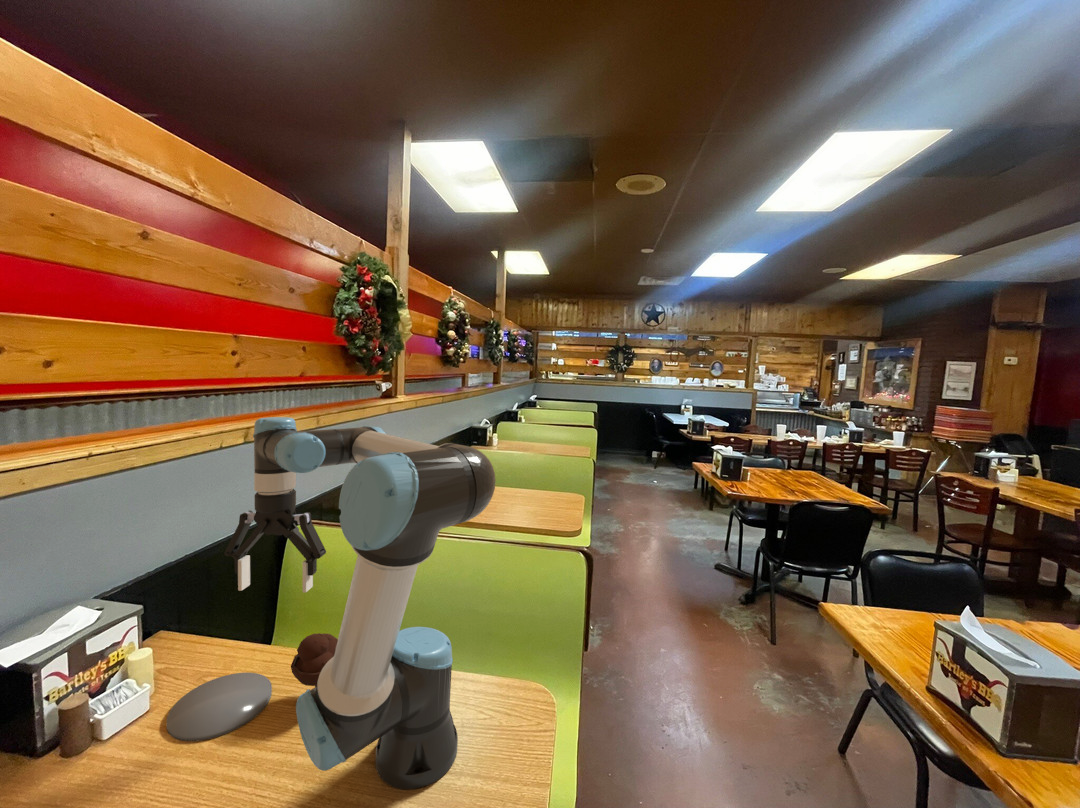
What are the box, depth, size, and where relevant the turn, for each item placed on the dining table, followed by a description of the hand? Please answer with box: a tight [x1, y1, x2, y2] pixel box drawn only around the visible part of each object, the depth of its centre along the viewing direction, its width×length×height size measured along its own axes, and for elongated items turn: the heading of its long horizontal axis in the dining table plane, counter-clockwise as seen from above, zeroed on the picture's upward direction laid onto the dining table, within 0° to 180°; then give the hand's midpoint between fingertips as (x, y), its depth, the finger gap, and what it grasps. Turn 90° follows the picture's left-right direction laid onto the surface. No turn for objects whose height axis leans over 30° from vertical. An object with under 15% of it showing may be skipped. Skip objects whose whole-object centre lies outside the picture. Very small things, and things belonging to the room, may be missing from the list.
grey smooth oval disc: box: [165, 672, 273, 742], centre depth 93 cm, size 18×18×1 cm
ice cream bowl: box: [290, 632, 338, 688], centre depth 96 cm, size 11×11×15 cm
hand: (276, 588), depth 94 cm, fingers open, 13 cm apart
